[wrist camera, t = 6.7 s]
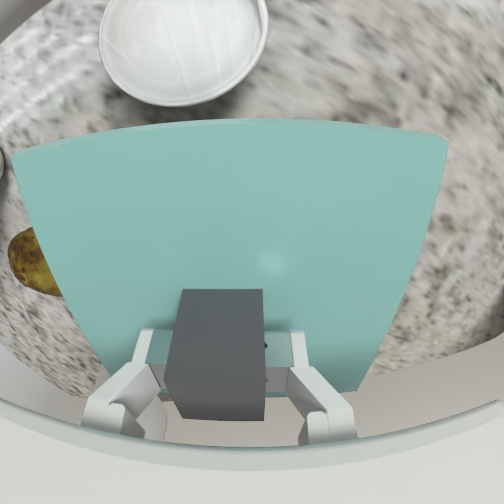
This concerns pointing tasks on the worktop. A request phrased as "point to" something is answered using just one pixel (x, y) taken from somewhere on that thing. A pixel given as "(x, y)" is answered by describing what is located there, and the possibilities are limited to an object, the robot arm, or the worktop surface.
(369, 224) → the lid
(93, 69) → the worktop surface
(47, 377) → the worktop surface
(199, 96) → the ramekin
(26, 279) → the potato
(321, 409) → the robot arm
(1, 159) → the plastic bottle
